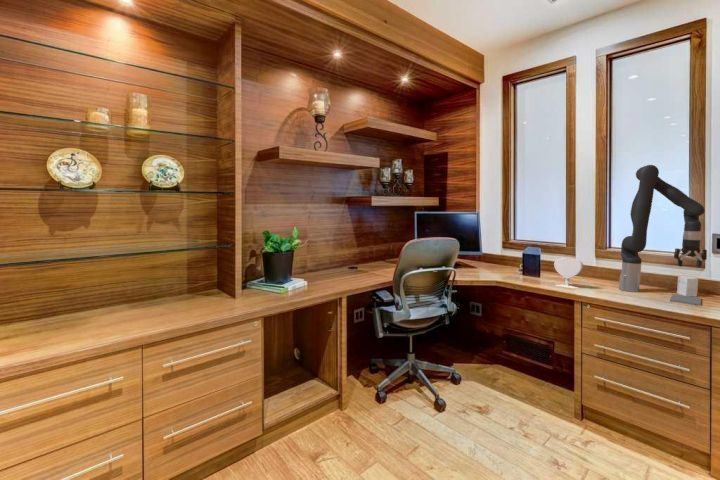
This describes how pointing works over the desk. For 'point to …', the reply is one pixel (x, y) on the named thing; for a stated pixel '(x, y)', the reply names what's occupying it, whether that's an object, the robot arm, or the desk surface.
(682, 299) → the mat
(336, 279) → the desk surface
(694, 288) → the small box
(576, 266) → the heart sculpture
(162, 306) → the desk surface
